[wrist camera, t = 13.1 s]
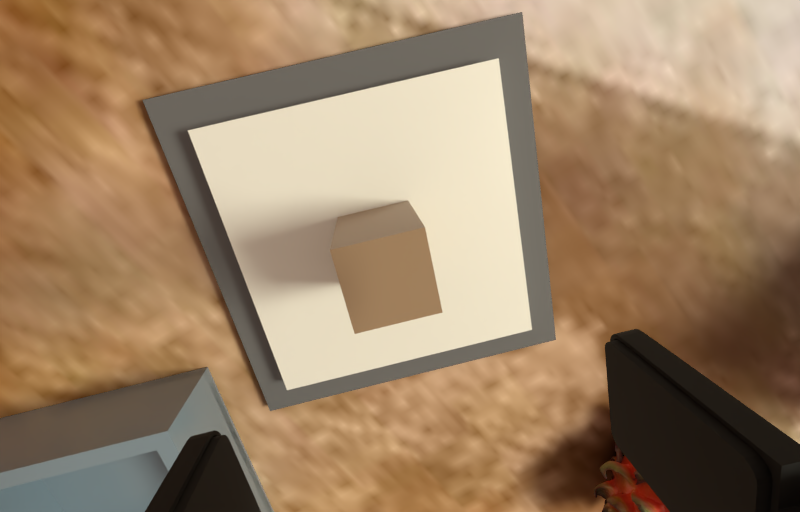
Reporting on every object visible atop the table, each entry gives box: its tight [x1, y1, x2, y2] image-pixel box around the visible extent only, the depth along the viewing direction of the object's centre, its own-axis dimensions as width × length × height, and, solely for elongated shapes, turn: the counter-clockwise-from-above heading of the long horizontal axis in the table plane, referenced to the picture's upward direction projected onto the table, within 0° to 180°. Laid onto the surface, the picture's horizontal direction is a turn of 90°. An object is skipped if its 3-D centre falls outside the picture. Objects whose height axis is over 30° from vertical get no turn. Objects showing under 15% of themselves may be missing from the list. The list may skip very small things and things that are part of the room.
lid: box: [188, 58, 532, 390], centre depth 20 cm, size 16×16×7 cm
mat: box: [143, 12, 556, 411], centre depth 24 cm, size 20×20×1 cm
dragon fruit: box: [594, 444, 670, 512], centre depth 29 cm, size 8×8×12 cm
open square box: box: [0, 367, 274, 512], centre depth 26 cm, size 14×14×6 cm
